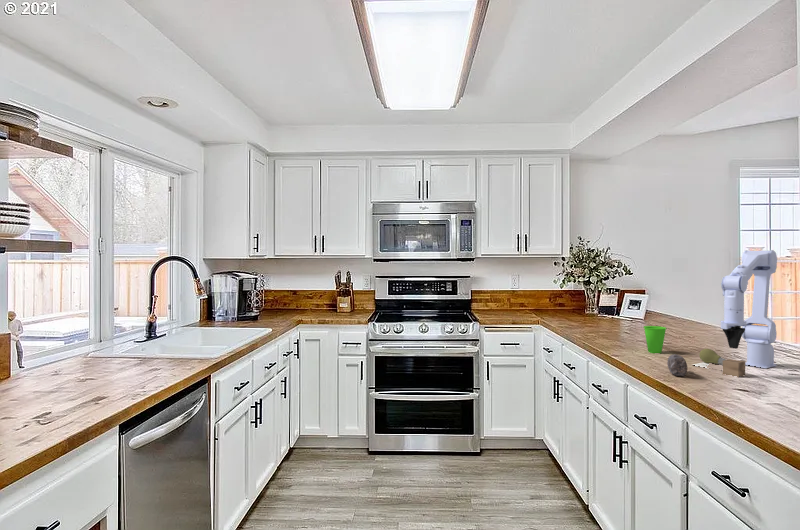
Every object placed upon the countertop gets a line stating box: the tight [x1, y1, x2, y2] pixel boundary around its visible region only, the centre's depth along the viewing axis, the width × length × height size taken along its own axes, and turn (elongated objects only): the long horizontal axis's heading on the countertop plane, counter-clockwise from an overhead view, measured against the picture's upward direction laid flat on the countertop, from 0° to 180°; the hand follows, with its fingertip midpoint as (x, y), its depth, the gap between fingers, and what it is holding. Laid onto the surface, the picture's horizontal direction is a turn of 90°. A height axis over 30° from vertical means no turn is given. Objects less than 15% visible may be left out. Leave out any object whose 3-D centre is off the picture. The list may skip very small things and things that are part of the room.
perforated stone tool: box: [666, 353, 689, 377], centre depth 173 cm, size 15×5×7 cm, turn 159°
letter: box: [692, 361, 709, 369], centre depth 183 cm, size 10×14×1 cm
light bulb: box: [698, 348, 727, 365], centre depth 187 cm, size 6×6×10 cm
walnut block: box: [722, 358, 746, 378], centre depth 171 cm, size 5×5×5 cm
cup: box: [643, 325, 667, 354], centre depth 211 cm, size 9×9×11 cm
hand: (733, 348), depth 171 cm, fingers closed
